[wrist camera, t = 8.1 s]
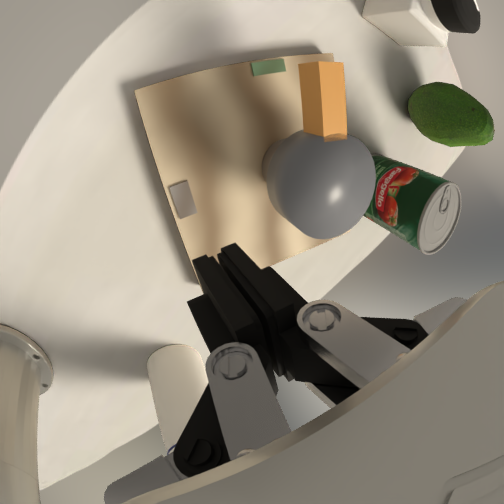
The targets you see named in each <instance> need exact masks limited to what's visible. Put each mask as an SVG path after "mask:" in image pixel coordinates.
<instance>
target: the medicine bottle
mask: <svg viewBox="0 0 504 504" xmlns="http://www.w3.org/2000/svg"><path fill="white" fill-rule="evenodd" d="M362 16H363V18H365V19H366V20H368V21H369V22H370V23H372V24H373V25H374V26H376V27H377V28H379V29H380V30H381V31H382V32H384V33H385V34H386V35H388V36H389V37H390V38H391V39H393V40H394V41H395V42H396V43H398V44H399V45H400V46H433V47H446V46H447V40H448V32H459V33H476V32H477V31H478V30H479V27H480V12H479V8H478V5H477V2H476V0H366V1H365V5H364V9H363V13H362Z"/></svg>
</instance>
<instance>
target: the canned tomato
mask: <svg viewBox="0 0 504 504" xmlns="http://www.w3.org/2000/svg"><path fill="white" fill-rule="evenodd" d="M372 158H373V161H374V165H375V171H376V182H375V189H374V194H373V197H372V200H371V202H370V205H369V207H368V209H367V210H366V212H365V214H364V215H363V216H365V217H366V218H368V219H370V220H371V221H373V222H375V223H376V224H378V225H380V226H381V227H383V228H385V229H386V230H388V231H390V232H391V233H393V234H395V235H396V236H398V237H399V238H401V239H403V240H404V241H406V242H407V243H409V244H411V245H412V246H414V247H416V248H417V249H419V250H420V251H421V252H422V253H424V254H426V255H431V254H434V253H436V252H437V251H439V250H440V249H441V248H442V247H443V246H444V245H445V244H446V242H447V241H448V240H449V238H450V237H451V235H452V233H453V231H454V229H455V227H456V224H457V222H458V219H459V216H460V210H461V192H460V189H459V187H458V186H457V184H455V183H453V182H449V181H447V180H445V179H443V178H441V177H438V176H435V175H434V174H430V173H429V172H425V171H423V170H420V169H418V168H415V167H413V166H410V165H407V164H404V163H402V162H398V161H396V160H393V159H391V158H387V157H384V156H382V155H378V154H374V155H372Z"/></svg>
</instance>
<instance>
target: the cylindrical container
mask: <svg viewBox="0 0 504 504" xmlns="http://www.w3.org/2000/svg"><path fill="white" fill-rule="evenodd" d="M147 370H148V375H149V381H150V386H151V391H152V395H153V400H154V404H155V409H156V413H157V417H158V421H159V425H160V429H161V433H162V437H163V441H164V444H165V448H166V451H167V455H168V454H170V453H172V452H173V451H174V448H175V445H176V443H177V441H178V440H179V438H180V436H181V434H182V432H183V430H184V428H185V426H186V425H187V423H188V421H189V419H190V417H191V415H192V413H193V411H194V409H195V408H196V406H197V404H198V402H199V400H200V398H201V396H202V394H203V392H204V390H205V388H206V386H207V384H208V383H209V382H208V378H207V374H206V369H205V367H204V364H203V362H202V359H201V356H200V354H199V352H198V351H197V350H195V349H194V348H192V347H190V346H187V345H181V344H180V345H169V346H165V347H162V348H160V349H158V350H157V351H155V352H154V353H153V354H152V355H151V356H150V357H149V359H148V361H147Z"/></svg>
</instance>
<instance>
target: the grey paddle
mask: <svg viewBox="0 0 504 504" xmlns="http://www.w3.org/2000/svg"><path fill="white" fill-rule="evenodd" d="M298 68H299V79H300V90H301V102H302V115H303V129H302V130H300V131H297V132H295V133H293V134H292V135H290V136H289V137H288V138H286V139H285V140H284V141H283V142H282V143H281V144H280V146H279V147H278V148H277V150H276V151H275V153H274V155H273V157H272V159H271V161H270V164H269V167H268V172H267V191H268V196H269V199H270V201H271V203H272V205H273V207H274V208H275V210H276V211H277V212H278V213H279V214H280V215H281V216H283V217H284V218H285V219H286V220H288V221H289V222H290V223H291V224H293V225H294V226H295V227H296V228H298V229H299V230H300V231H301V232H303V233H304V234H305V235H307V236H309V237H312V238H315V239H331V238H335V237H337V236H340V235H342V234H344V233H345V232H347V231H348V230H350V229H351V228H352V227H353V226H355V225H356V224H357V222H358V221H359V220H360V219H361V218H362V216H363V215H364V214H365V212H366V210H367V209H368V207H369V205H370V202H371V200H372V197H373V194H374V189H375V182H376V171H375V165H374V161H373V158H372V155H371V153H370V152H369V150H368V148H367V147H366V146H365V145H364V144H363V143H362V142H361V141H360V140H359V139H357V138H355V137H353V136H351V135H348V134H347V117H346V95H345V80H344V67H343V63H340V62H323V61H317V62H309V63H301V64H298Z"/></svg>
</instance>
